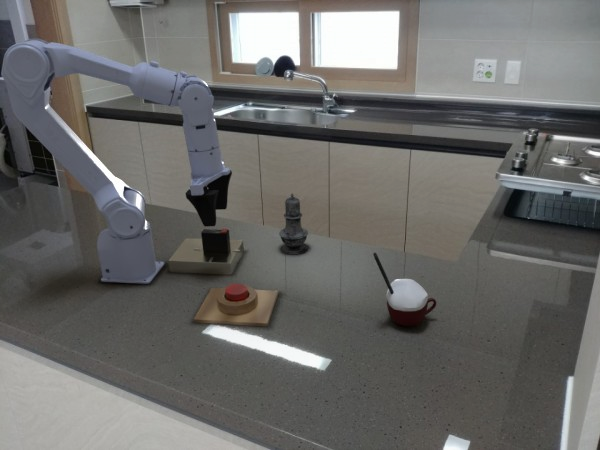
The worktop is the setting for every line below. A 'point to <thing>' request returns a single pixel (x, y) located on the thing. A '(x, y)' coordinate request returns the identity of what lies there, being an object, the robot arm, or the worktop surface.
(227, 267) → the panel
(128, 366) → the worktop surface
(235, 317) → the button block
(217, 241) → the knob
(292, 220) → the salt shaker
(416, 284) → the cocoa
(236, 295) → the button
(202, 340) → the worktop surface
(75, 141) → the robot arm
